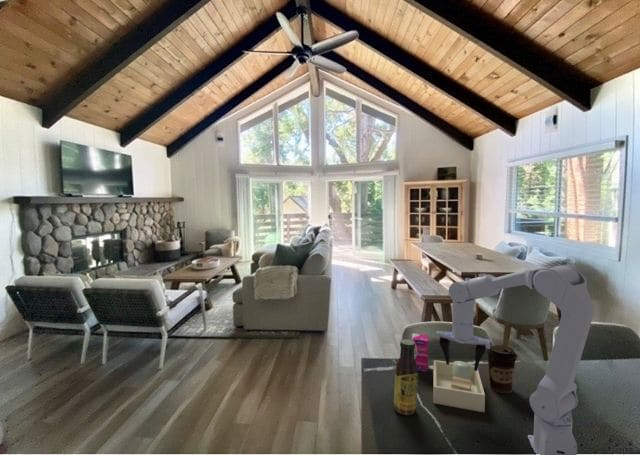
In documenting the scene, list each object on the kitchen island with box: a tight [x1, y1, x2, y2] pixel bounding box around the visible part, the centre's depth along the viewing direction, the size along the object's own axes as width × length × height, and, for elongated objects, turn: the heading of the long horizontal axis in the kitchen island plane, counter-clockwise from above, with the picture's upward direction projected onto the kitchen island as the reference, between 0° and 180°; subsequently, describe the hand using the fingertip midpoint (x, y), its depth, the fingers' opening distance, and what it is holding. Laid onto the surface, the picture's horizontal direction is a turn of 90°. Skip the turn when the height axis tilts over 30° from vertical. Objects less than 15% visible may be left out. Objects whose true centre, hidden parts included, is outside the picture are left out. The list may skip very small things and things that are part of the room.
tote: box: [432, 359, 486, 413], centre depth 102 cm, size 18×14×5 cm
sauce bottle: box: [393, 338, 419, 416], centre depth 92 cm, size 7×6×20 cm
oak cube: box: [451, 376, 471, 391], centre depth 97 cm, size 5×5×5 cm
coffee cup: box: [486, 344, 518, 394], centre depth 103 cm, size 9×8×13 cm
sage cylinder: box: [452, 360, 471, 380], centre depth 103 cm, size 5×5×7 cm
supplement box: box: [411, 332, 430, 373], centre depth 116 cm, size 6×6×12 cm
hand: (461, 366), depth 97 cm, fingers open, 7 cm apart
